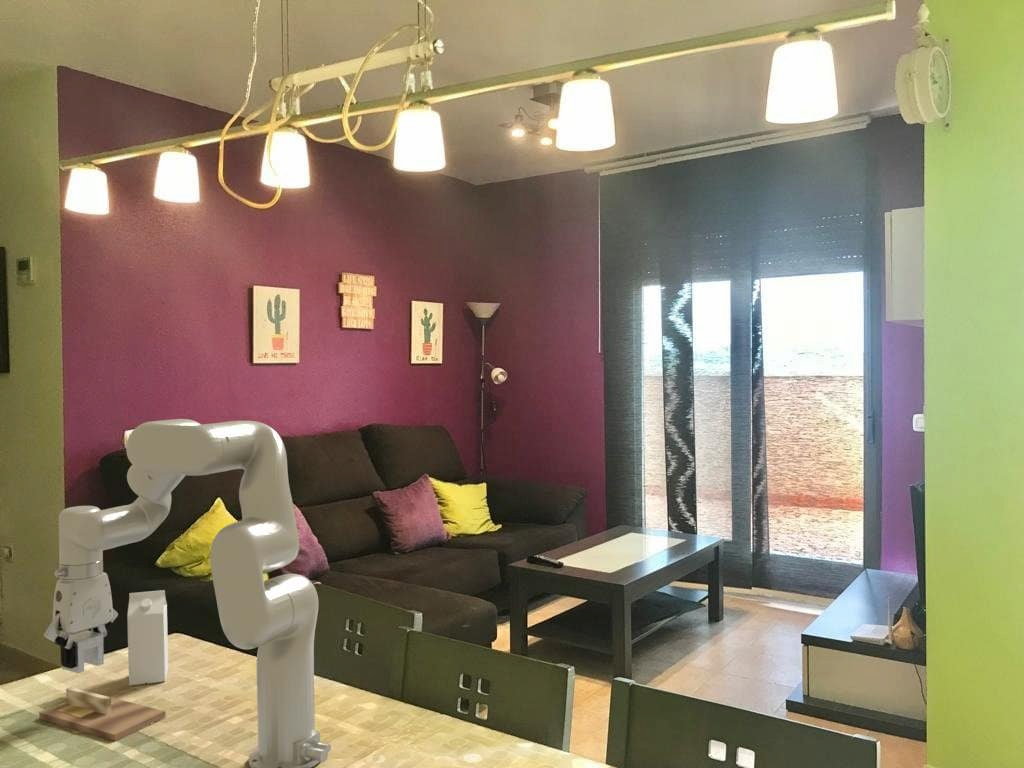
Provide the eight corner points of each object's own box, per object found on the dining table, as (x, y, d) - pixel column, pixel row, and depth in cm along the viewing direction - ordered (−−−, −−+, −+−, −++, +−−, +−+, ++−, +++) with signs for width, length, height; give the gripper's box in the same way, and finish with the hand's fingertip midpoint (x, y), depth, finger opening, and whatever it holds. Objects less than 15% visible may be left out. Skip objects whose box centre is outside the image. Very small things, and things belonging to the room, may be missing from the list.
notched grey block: (103, 664, 163) (103, 634, 162) (78, 673, 158) (77, 642, 158) (87, 659, 165) (86, 630, 165) (61, 668, 160) (61, 638, 160)
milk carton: (133, 674, 182) (131, 589, 181) (168, 670, 184) (166, 586, 183) (129, 686, 175) (126, 597, 174) (165, 682, 177) (163, 594, 176)
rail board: (165, 717, 159) (165, 696, 159) (115, 741, 149) (114, 718, 149) (91, 697, 169) (90, 677, 169) (39, 718, 159) (38, 697, 159)
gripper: (51, 583, 151) (53, 680, 152) (132, 562, 167) (133, 651, 167) (26, 578, 155) (28, 673, 155) (107, 558, 170) (109, 645, 171)
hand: (83, 660), depth 161 cm, fingers closed on notched grey block, 5 cm apart
